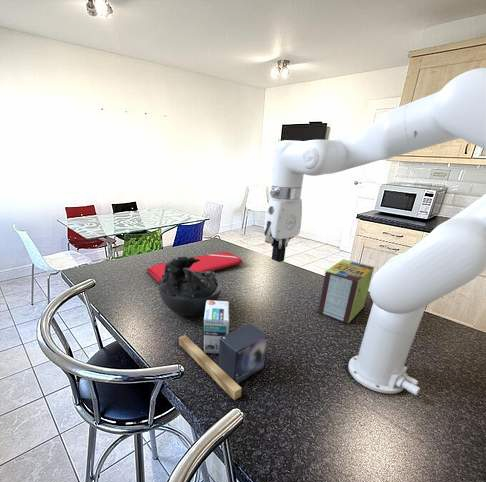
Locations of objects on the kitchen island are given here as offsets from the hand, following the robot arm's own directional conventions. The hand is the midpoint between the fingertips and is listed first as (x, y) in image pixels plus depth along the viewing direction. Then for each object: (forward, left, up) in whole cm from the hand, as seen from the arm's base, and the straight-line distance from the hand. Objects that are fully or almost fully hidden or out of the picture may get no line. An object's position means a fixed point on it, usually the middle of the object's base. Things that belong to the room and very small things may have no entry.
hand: (277, 260), depth 82 cm
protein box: (-7, -28, -22) cm, 36 cm away
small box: (-10, +21, -22) cm, 32 cm away
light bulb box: (+3, +19, -22) cm, 29 cm away
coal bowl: (+21, +16, -22) cm, 35 cm away
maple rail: (-4, +27, -22) cm, 35 cm away
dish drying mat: (+51, -6, -22) cm, 56 cm away
